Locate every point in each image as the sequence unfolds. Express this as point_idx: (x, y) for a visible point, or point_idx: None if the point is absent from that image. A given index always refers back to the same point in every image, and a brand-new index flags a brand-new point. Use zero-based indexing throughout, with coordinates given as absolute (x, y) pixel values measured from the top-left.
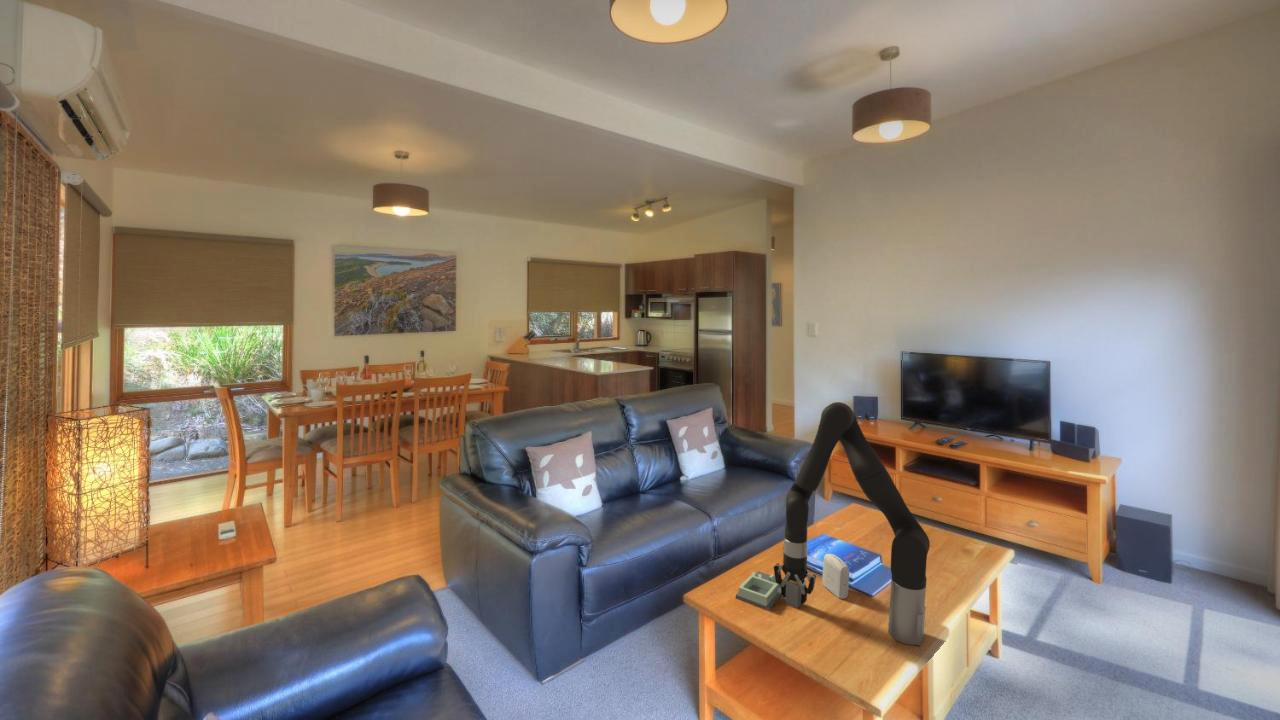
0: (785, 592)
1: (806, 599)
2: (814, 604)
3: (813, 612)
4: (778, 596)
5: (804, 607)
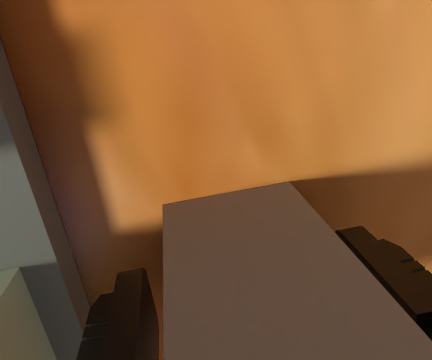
0: (153, 352)
1: (406, 260)
2: (407, 106)
3: (429, 230)
4: (78, 313)
5: (340, 223)
